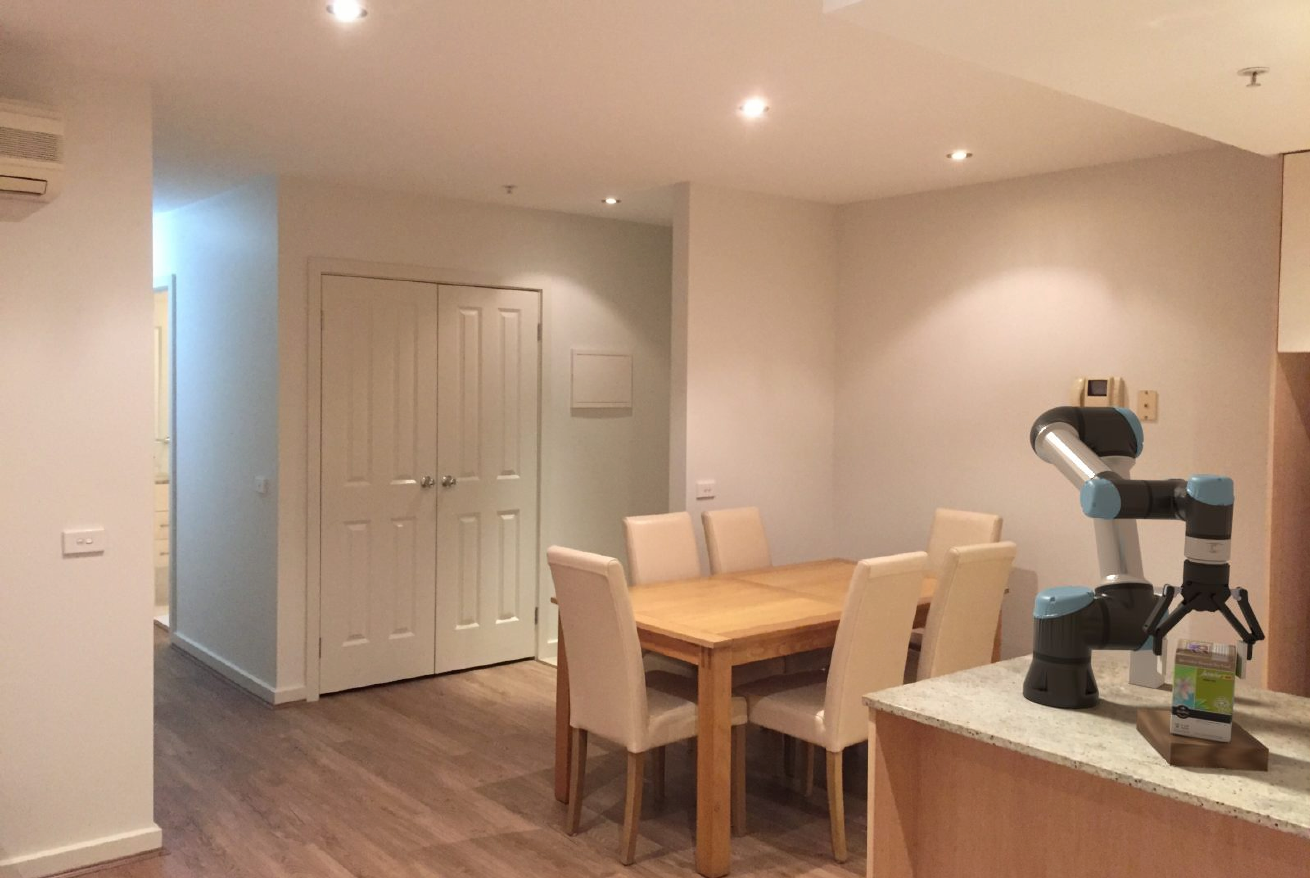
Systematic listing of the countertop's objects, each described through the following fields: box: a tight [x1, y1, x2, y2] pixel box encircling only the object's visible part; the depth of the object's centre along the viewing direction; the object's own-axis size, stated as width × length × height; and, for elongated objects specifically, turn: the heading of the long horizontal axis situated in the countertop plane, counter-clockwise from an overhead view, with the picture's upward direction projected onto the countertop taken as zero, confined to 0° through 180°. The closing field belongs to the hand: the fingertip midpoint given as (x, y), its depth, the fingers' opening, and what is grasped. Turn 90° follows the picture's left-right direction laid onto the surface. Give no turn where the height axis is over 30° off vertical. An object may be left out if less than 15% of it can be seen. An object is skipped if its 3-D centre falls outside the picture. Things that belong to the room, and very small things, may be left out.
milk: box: [1128, 585, 1168, 689], centre depth 242 cm, size 6×6×22 cm
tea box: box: [1170, 638, 1237, 742], centre depth 198 cm, size 15×10×15 cm, turn 152°
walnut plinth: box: [1136, 708, 1270, 773], centre depth 198 cm, size 16×20×4 cm
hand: (1200, 675), depth 198 cm, fingers open, 13 cm apart
